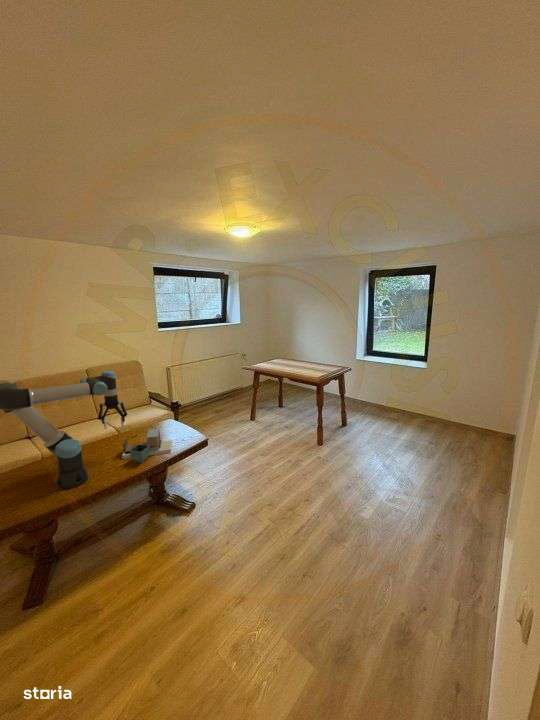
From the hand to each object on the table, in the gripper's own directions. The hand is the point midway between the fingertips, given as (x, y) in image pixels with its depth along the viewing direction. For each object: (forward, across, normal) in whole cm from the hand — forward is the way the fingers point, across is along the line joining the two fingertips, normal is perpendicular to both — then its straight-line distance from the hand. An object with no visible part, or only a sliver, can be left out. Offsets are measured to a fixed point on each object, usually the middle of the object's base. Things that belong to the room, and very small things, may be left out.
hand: (114, 427), depth 192 cm
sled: (+17, +16, 0) cm, 23 cm away
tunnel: (+17, +23, 0) cm, 29 cm away
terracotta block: (+16, +24, 0) cm, 28 cm away
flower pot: (+20, +16, -12) cm, 29 cm away
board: (+20, +20, 0) cm, 28 cm away
